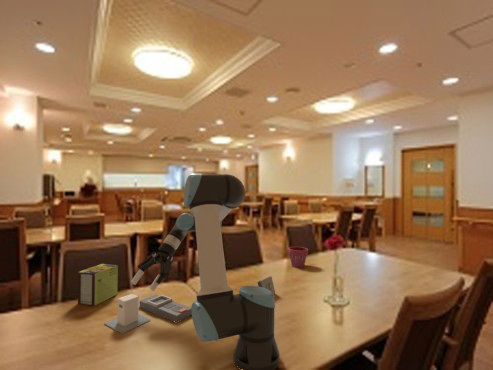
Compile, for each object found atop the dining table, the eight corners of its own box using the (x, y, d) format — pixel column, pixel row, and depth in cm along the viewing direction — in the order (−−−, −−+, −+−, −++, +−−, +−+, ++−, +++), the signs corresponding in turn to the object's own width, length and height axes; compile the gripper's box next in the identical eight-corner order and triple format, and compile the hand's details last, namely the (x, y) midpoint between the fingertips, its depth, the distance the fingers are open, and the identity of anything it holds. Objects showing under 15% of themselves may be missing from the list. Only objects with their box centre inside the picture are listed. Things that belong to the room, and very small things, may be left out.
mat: (150, 320, 116) (150, 319, 116) (121, 333, 105) (121, 332, 105) (132, 312, 123) (132, 311, 123) (104, 324, 112) (104, 323, 112)
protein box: (117, 294, 144) (118, 264, 144) (94, 306, 129) (94, 273, 130) (101, 292, 147) (102, 263, 147) (77, 303, 132) (77, 271, 132)
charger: (138, 320, 115) (138, 296, 115) (123, 326, 110) (124, 301, 110) (131, 316, 118) (131, 293, 118) (117, 322, 113) (117, 298, 113)
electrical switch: (265, 299, 139) (264, 280, 140) (257, 297, 142) (256, 279, 143) (275, 293, 146) (274, 276, 147) (267, 292, 150) (266, 275, 150)
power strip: (192, 314, 121) (192, 305, 121) (176, 322, 114) (176, 312, 114) (155, 300, 136) (155, 292, 136) (139, 307, 129) (139, 298, 129)
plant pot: (310, 265, 201) (310, 247, 201) (303, 269, 189) (304, 251, 189) (292, 262, 209) (292, 245, 209) (285, 266, 197) (285, 249, 197)
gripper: (191, 254, 128) (165, 296, 115) (157, 247, 142) (130, 285, 129) (182, 245, 124) (154, 288, 111) (148, 239, 138) (120, 276, 125)
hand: (141, 286), depth 120 cm, fingers open, 13 cm apart
